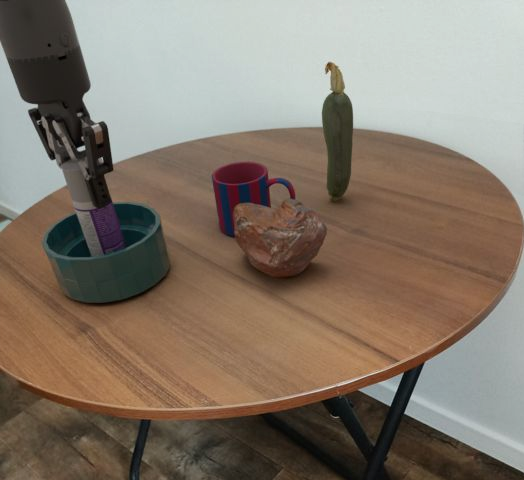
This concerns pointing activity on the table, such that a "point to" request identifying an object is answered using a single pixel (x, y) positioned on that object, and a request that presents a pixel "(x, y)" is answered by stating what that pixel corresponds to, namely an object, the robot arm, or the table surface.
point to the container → (93, 214)
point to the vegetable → (337, 134)
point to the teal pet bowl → (109, 256)
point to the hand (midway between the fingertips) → (91, 199)
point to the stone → (279, 236)
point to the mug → (242, 190)
